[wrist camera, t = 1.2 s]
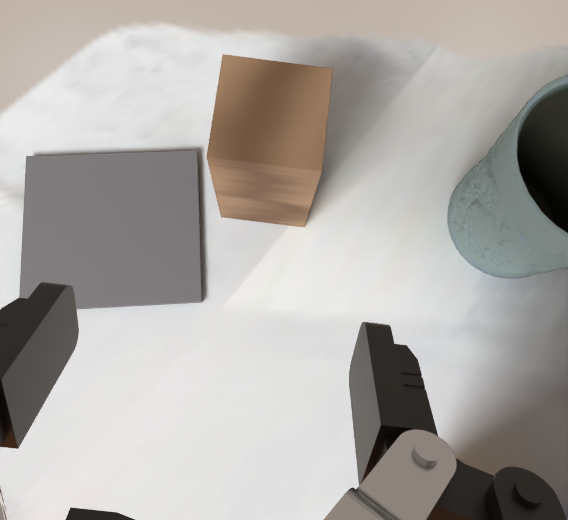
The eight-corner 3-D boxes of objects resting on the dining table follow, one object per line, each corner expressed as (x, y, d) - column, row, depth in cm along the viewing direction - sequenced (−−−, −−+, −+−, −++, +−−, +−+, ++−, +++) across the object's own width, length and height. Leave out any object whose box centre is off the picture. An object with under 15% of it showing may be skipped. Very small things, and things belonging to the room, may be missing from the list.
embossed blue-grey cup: (584, 191, 38) (729, 111, 26) (547, 315, 36) (688, 288, 24) (458, 140, 38) (546, 39, 27) (414, 260, 36) (489, 207, 24)
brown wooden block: (312, 150, 38) (332, 68, 27) (304, 227, 36) (322, 171, 26) (232, 140, 37) (222, 54, 27) (221, 216, 36) (206, 157, 26)
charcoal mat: (198, 153, 37) (196, 150, 36) (202, 302, 35) (201, 301, 34) (29, 159, 36) (26, 156, 36) (22, 312, 34) (18, 311, 33)
